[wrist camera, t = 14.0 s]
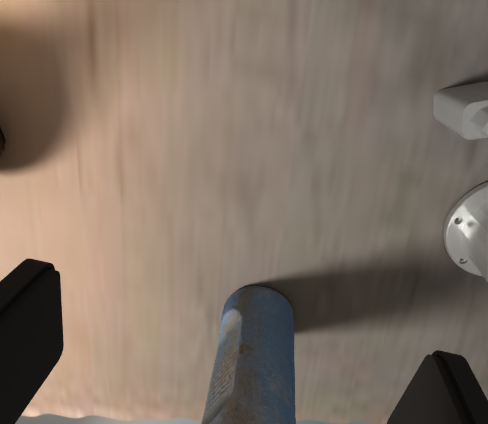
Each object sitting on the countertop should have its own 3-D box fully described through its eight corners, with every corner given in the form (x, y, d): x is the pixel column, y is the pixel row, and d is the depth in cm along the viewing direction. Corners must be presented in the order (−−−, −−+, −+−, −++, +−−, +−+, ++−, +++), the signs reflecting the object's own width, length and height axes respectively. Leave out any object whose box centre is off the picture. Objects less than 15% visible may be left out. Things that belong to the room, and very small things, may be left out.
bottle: (248, 271, 49) (200, 566, 22) (309, 308, 51) (330, 623, 24) (211, 315, 53) (133, 608, 26) (268, 348, 55) (248, 655, 28)
